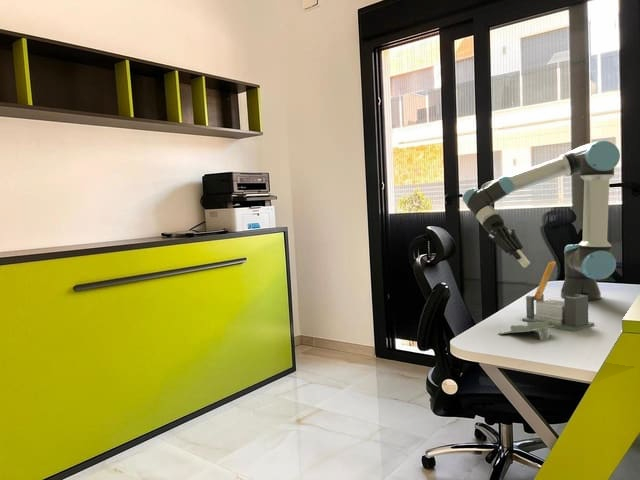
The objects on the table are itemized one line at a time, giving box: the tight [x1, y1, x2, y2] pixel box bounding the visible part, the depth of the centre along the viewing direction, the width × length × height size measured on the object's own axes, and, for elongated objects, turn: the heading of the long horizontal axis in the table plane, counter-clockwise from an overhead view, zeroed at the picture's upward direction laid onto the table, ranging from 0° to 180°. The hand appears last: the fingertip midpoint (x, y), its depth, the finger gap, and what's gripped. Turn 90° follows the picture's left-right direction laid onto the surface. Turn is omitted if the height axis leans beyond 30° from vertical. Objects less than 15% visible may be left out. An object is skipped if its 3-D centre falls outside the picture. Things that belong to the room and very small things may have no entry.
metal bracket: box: [497, 321, 555, 341], centre depth 157 cm, size 14×6×15 cm
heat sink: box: [525, 293, 565, 325], centre depth 171 cm, size 14×9×8 cm, turn 29°
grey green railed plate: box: [521, 314, 595, 332], centre depth 169 cm, size 19×12×1 cm, turn 29°
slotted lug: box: [563, 294, 589, 327], centre depth 163 cm, size 4×7×10 cm, turn 119°
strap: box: [534, 261, 557, 301], centre depth 172 cm, size 16×3×1 cm
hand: (526, 265), depth 178 cm, fingers closed
